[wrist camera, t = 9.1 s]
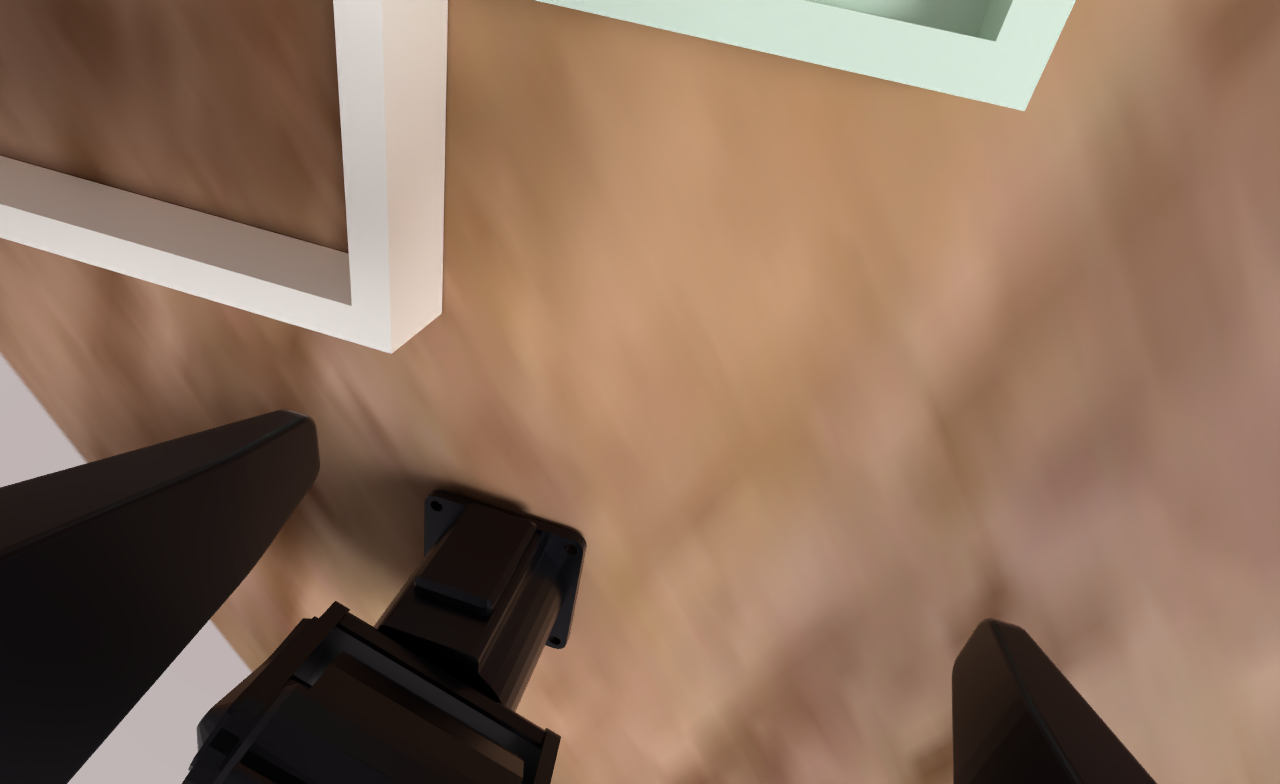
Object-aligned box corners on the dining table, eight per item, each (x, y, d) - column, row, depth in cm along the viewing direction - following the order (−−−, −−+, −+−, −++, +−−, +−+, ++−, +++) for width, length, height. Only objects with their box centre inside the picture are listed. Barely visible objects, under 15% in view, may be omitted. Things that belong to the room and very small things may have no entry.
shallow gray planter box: (441, 313, 22) (391, 353, 19) (-66, 167, 24) (-170, 187, 22) (450, -167, 15) (376, -199, 13) (-250, -307, 18) (-431, -358, 15)
